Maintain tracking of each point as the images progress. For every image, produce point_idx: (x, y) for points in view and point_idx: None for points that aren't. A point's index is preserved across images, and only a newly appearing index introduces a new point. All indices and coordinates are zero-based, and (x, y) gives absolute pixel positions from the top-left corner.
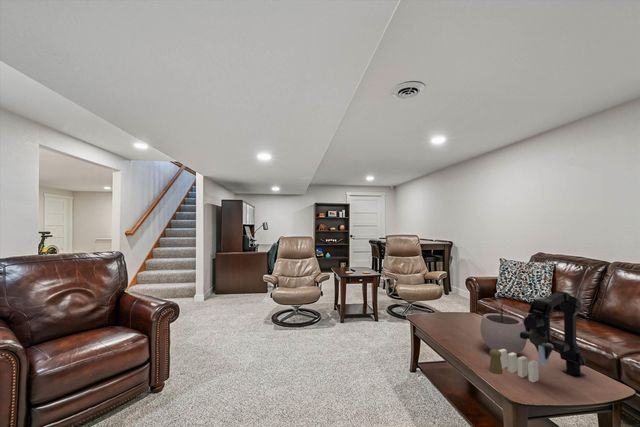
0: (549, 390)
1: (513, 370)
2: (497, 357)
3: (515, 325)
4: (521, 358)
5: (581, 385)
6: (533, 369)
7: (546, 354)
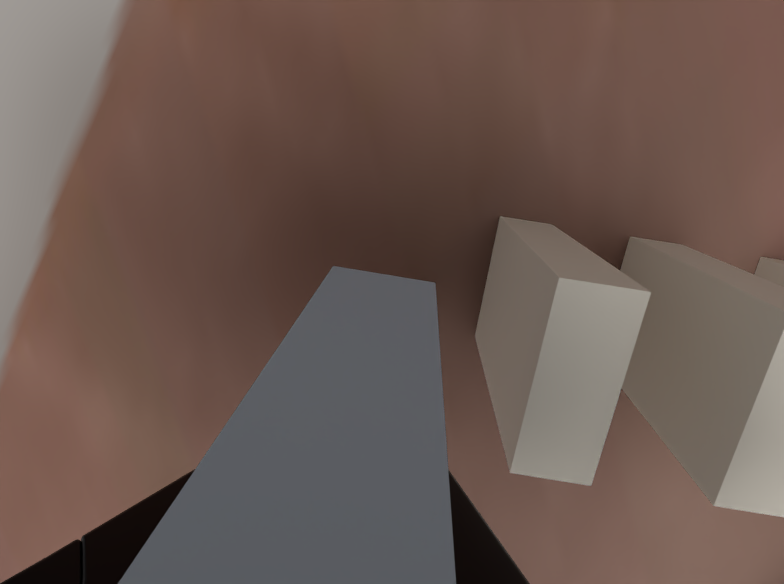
0: (319, 170)
1: None
2: None
3: None
4: None
5: None
6: (526, 273)
7: (165, 512)
